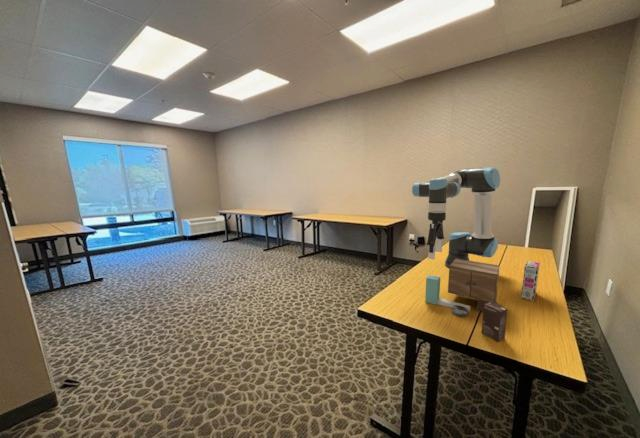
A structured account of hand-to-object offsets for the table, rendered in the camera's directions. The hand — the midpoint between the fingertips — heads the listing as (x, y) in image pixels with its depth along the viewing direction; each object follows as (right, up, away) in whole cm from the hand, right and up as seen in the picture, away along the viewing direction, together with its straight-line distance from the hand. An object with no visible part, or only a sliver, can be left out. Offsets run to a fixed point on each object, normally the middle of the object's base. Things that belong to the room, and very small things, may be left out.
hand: (435, 255), depth 118 cm
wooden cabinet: (+16, -22, -3) cm, 27 cm away
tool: (+3, -23, -5) cm, 23 cm away
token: (+5, -24, -12) cm, 27 cm away
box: (+8, -26, -28) cm, 39 cm away
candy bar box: (+47, -21, +2) cm, 52 cm away
